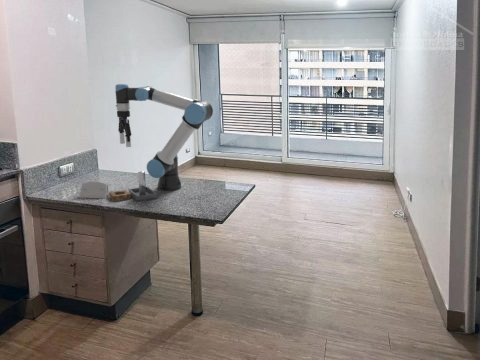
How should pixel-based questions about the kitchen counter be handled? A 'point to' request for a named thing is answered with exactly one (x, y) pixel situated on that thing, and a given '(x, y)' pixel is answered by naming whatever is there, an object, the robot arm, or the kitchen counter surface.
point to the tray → (149, 195)
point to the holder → (119, 195)
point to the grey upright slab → (94, 190)
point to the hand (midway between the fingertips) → (125, 145)
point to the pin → (142, 183)
